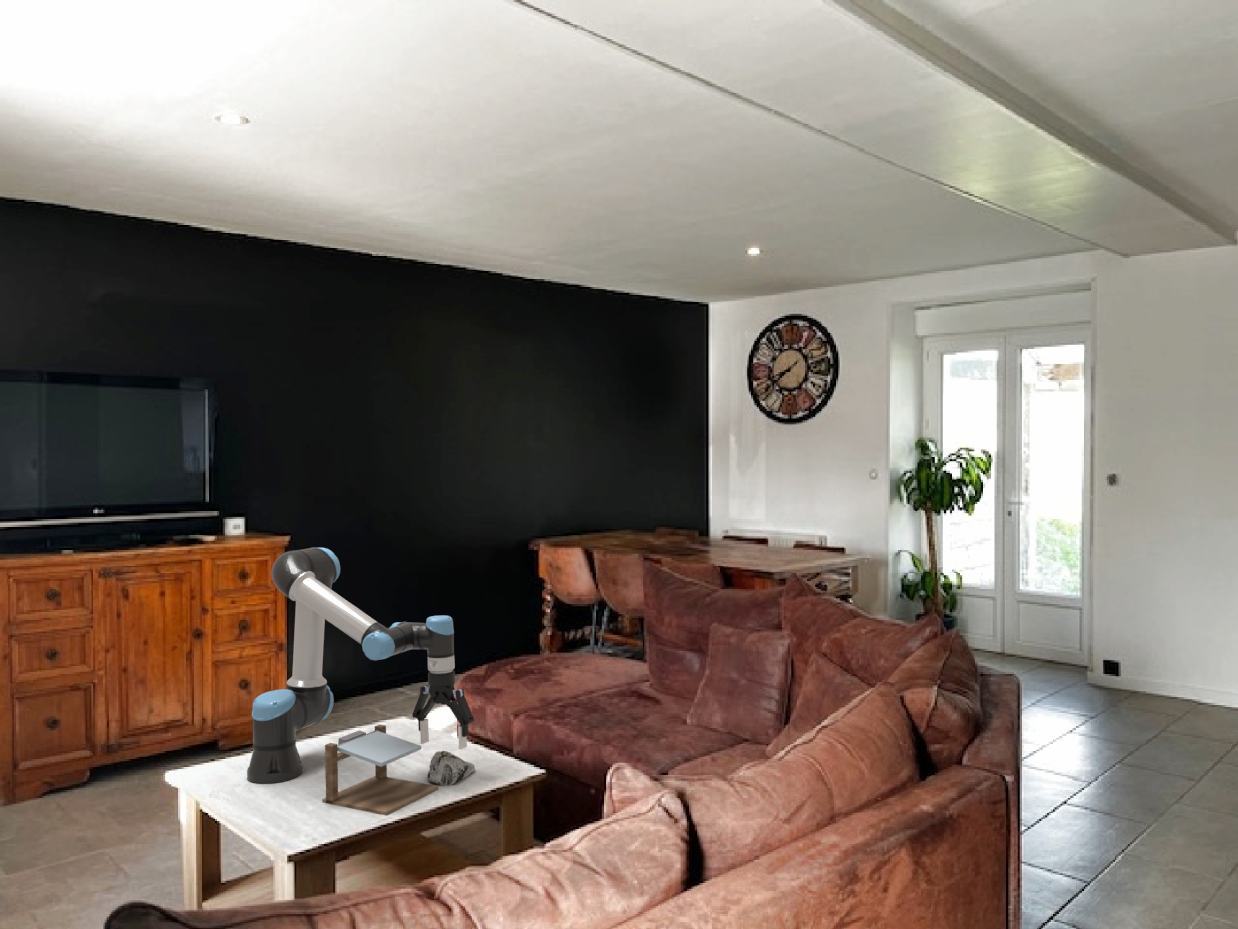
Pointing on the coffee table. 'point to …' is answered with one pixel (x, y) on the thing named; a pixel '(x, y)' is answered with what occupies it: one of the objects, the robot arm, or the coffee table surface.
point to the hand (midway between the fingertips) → (443, 745)
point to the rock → (448, 768)
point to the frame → (371, 787)
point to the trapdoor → (375, 747)
